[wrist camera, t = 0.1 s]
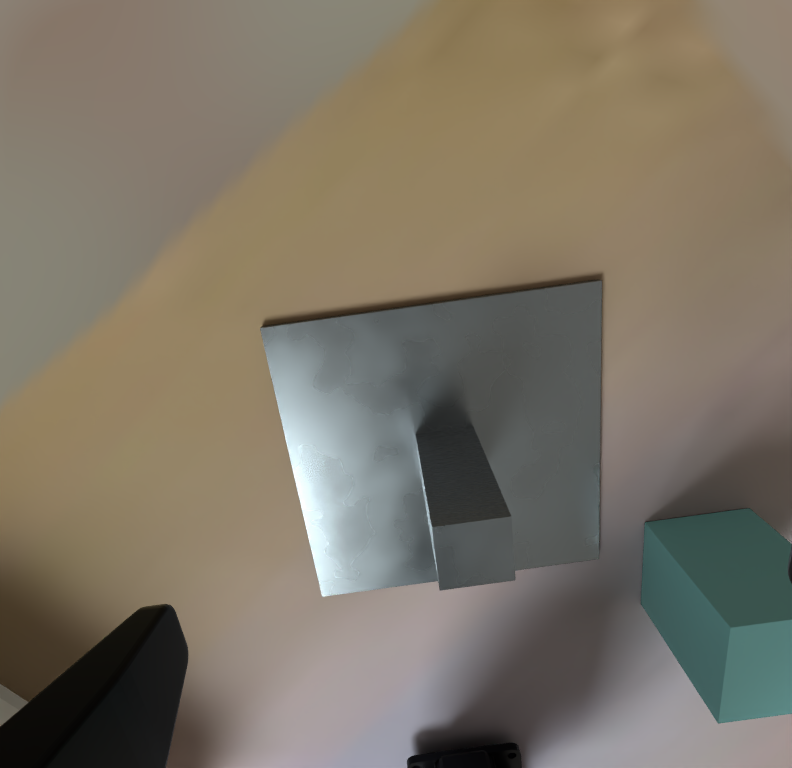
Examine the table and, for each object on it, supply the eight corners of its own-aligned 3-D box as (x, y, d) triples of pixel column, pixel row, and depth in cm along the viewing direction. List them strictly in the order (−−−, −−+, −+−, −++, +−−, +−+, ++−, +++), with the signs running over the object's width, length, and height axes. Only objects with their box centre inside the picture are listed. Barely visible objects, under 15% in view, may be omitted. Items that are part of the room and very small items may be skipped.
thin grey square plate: (596, 555, 26) (671, 678, 20) (322, 592, 26) (306, 727, 20) (598, 279, 21) (700, 321, 15) (261, 326, 21) (212, 388, 15)
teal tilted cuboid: (738, 590, 28) (844, 706, 21) (640, 603, 28) (718, 723, 21) (749, 508, 26) (868, 609, 20) (644, 522, 26) (730, 627, 20)
